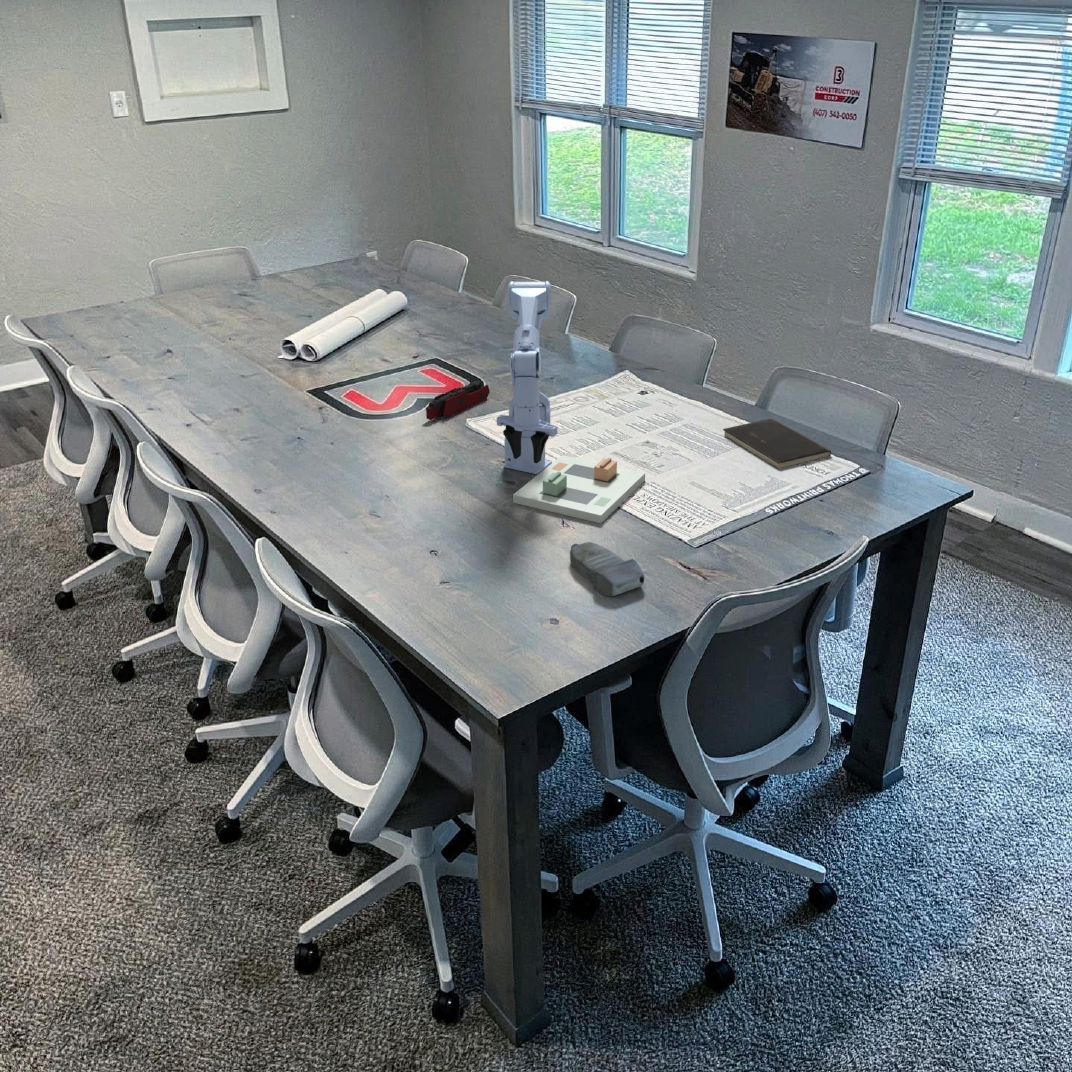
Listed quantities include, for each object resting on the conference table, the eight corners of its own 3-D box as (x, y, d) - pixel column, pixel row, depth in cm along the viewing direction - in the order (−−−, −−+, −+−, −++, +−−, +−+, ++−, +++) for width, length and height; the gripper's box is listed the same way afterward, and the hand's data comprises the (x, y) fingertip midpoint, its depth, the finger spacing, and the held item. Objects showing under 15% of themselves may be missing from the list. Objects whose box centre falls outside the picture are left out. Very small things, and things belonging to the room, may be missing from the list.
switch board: (513, 502, 239) (513, 494, 238) (562, 462, 257) (562, 455, 256) (600, 523, 230) (601, 515, 229) (644, 480, 248) (645, 472, 247)
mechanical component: (435, 425, 280) (434, 405, 277) (422, 421, 282) (421, 401, 280) (490, 399, 296) (489, 380, 293) (477, 395, 299) (477, 376, 296)
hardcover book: (777, 471, 253) (778, 462, 252) (722, 437, 271) (723, 428, 270) (830, 458, 259) (831, 449, 258) (773, 425, 277) (773, 417, 276)
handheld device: (591, 546, 221) (591, 527, 219) (649, 589, 206) (650, 569, 204) (553, 559, 217) (553, 539, 215) (609, 603, 202) (610, 583, 200)
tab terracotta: (593, 478, 244) (594, 464, 243) (603, 470, 248) (603, 456, 246) (607, 481, 243) (607, 467, 241) (616, 473, 247) (617, 459, 245)
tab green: (542, 492, 238) (542, 478, 236) (553, 484, 242) (553, 470, 240) (556, 496, 237) (556, 481, 235) (566, 487, 241) (566, 473, 239)
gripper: (488, 403, 233) (490, 459, 239) (546, 415, 227) (547, 472, 233) (504, 393, 238) (506, 448, 245) (561, 404, 232) (561, 460, 239)
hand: (527, 459), depth 239 cm, fingers open, 5 cm apart
